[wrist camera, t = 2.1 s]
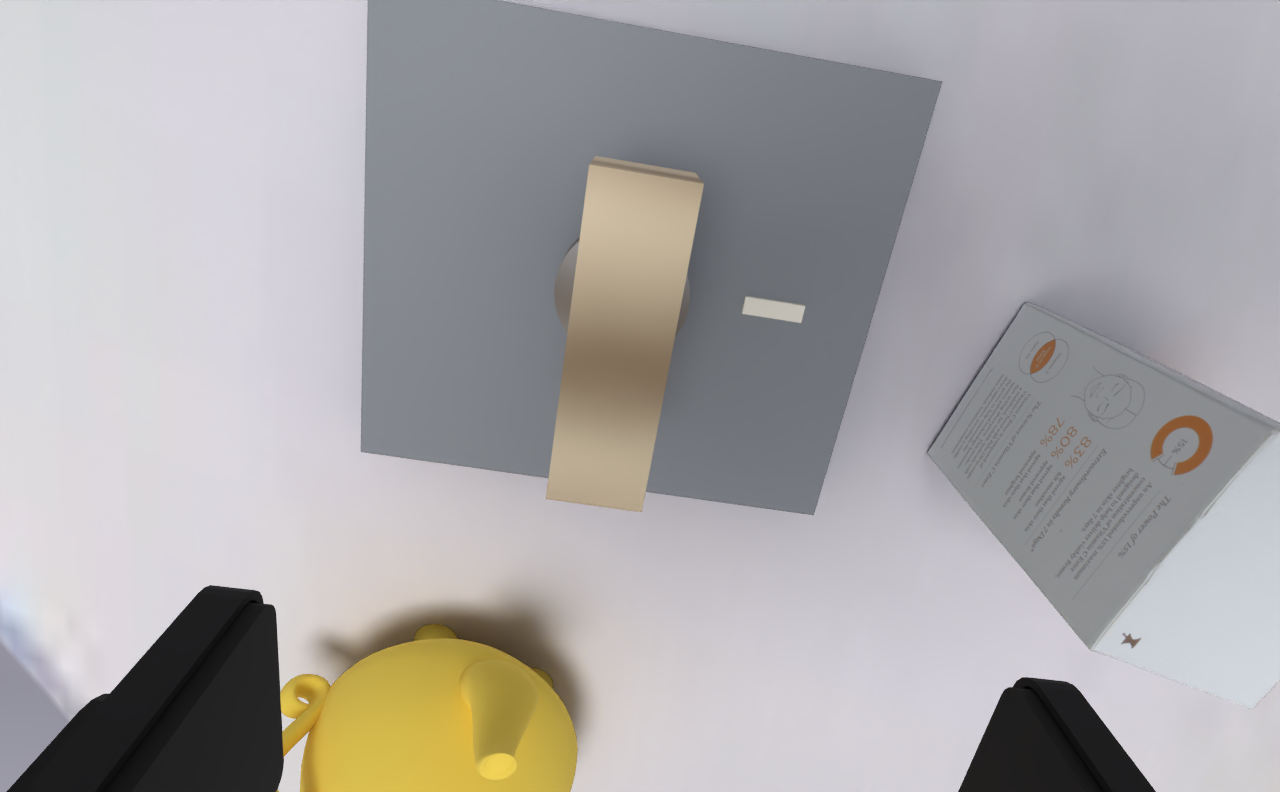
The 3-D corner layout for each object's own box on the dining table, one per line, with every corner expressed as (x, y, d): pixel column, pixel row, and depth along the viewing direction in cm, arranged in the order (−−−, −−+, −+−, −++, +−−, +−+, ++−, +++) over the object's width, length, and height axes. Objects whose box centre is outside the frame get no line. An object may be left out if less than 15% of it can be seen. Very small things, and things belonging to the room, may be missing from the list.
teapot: (394, 489, 34) (284, 667, 23) (661, 620, 37) (671, 831, 26) (248, 755, 40) (110, 988, 30) (485, 848, 43) (436, 1090, 33)
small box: (1036, 500, 34) (1252, 717, 22) (922, 453, 33) (1084, 654, 21) (1145, 352, 31) (1462, 510, 19) (1024, 296, 30) (1278, 426, 18)
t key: (575, 140, 26) (550, 157, 18) (711, 163, 26) (741, 190, 19) (544, 395, 30) (513, 494, 22) (664, 412, 30) (673, 516, 22)
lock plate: (387, -15, 26) (366, -25, 24) (921, 82, 27) (944, 81, 25) (376, 431, 33) (359, 453, 31) (803, 492, 34) (814, 517, 32)
